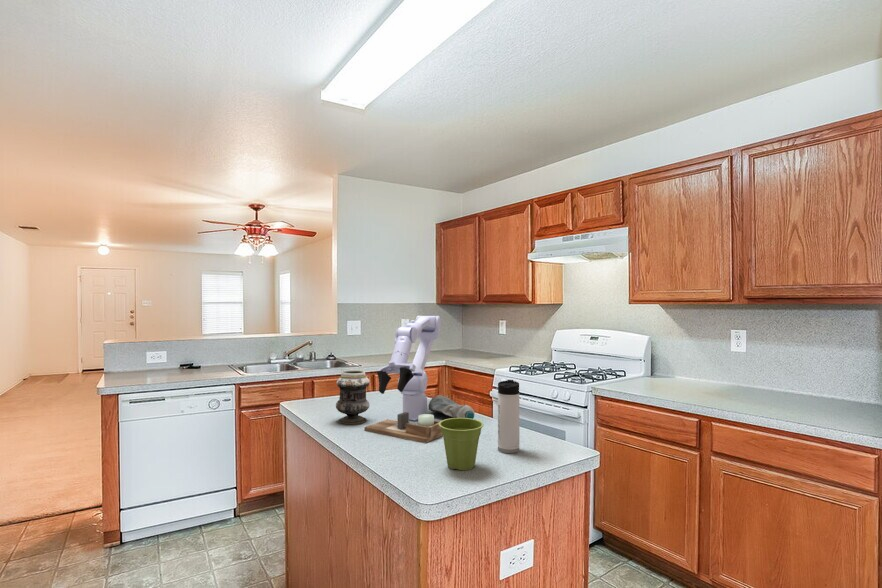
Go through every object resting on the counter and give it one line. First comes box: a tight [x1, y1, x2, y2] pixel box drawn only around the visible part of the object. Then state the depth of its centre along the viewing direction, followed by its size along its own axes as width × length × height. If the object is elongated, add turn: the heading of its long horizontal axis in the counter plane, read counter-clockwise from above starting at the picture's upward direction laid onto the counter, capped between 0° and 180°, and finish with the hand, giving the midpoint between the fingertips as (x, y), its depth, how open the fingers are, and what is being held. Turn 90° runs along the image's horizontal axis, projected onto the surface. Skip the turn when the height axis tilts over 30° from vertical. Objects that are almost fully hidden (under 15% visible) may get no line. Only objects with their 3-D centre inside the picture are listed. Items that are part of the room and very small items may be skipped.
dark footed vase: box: [335, 369, 370, 425], centre depth 168 cm, size 12×12×18 cm
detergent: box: [428, 394, 476, 419], centre depth 172 cm, size 13×7×25 cm
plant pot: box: [439, 417, 485, 471], centre depth 123 cm, size 12×12×11 cm
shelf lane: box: [364, 419, 443, 444], centre depth 154 cm, size 12×25×4 cm, turn 57°
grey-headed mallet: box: [397, 412, 435, 429], centre depth 152 cm, size 5×13×5 cm, turn 57°
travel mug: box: [497, 379, 520, 454], centre depth 136 cm, size 6×7×20 cm
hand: (390, 391), depth 154 cm, fingers open, 7 cm apart
